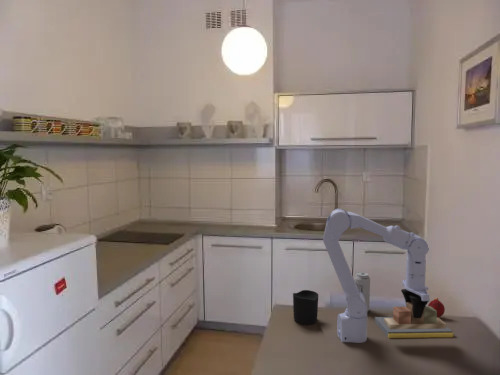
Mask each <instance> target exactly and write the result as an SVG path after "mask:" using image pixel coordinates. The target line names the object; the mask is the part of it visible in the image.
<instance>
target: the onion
mask: <svg viewBox="0 0 500 375" xmlns="http://www.w3.org/2000/svg"><path fill="white" fill-rule="evenodd" d="M427 306H431V307H432V308H433V309H435V310H436V311H437V318H439V319H440V318H441V317H442V316H443V315H444V314H445V310H446V309H445V308H446V307H445V306H444V304H443V303H442V302H441V301H440V299H439V298H438V297H435V298H434V299H432V300H431V301H429V302H428V304H427Z"/></svg>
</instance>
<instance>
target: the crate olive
mask: <svg viewBox="0 0 500 375" xmlns="http://www.w3.org/2000/svg"><path fill="white" fill-rule="evenodd" d="M431 323H437V311H436V310H435V309H433V308H432V307H431V306H428V305H426V306H425V308H424V324H431Z"/></svg>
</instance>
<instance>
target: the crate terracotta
mask: <svg viewBox="0 0 500 375" xmlns="http://www.w3.org/2000/svg"><path fill="white" fill-rule="evenodd" d="M392 317H393V319H394V320H395V321H396V322H397V323H398V324H411V311H410V310H409V309H408V308H407V307H406V306H393V313H392Z"/></svg>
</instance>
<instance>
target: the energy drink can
mask: <svg viewBox="0 0 500 375" xmlns="http://www.w3.org/2000/svg"><path fill="white" fill-rule="evenodd" d="M353 278H354V281H355V283H356V285H357V287H358V289H359V290H360V291H361V292H362V293H363V294H364V296H365V302H366V305H367V313H368V312H369V310H370V299H371V298H370V296H371V294H370V293H371V290H370V289H371V278H370V276H369V273H367V272H362V271H359V272H356V273H355V276H353Z"/></svg>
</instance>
